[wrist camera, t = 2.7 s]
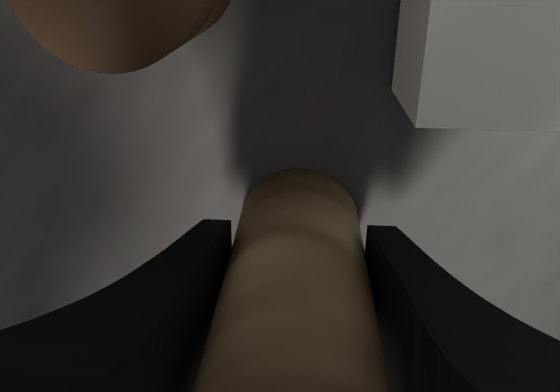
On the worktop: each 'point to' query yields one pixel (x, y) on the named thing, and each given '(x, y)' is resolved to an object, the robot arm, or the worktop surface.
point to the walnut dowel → (115, 29)
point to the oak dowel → (295, 296)
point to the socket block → (479, 64)
